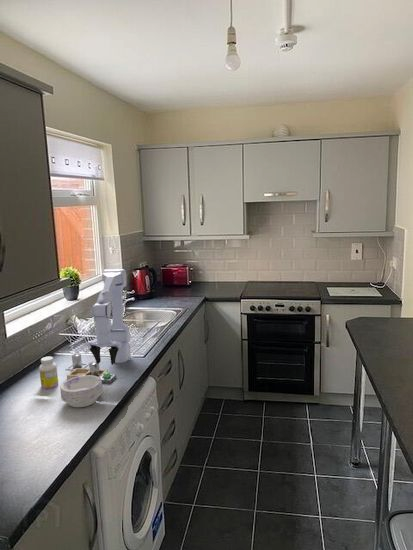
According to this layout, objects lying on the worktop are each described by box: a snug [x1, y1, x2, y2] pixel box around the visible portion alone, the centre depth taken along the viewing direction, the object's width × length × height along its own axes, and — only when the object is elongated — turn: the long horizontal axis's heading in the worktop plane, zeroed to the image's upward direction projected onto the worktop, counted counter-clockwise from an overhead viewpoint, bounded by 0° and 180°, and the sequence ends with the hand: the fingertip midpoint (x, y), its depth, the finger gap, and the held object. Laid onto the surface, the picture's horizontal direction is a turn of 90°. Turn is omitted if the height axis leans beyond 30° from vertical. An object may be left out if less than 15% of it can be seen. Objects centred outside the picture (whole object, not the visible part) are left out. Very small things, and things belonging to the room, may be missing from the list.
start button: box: [103, 371, 111, 379], centre depth 180 cm, size 3×3×3 cm
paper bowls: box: [59, 375, 103, 408], centre depth 163 cm, size 15×15×8 cm
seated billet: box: [88, 360, 101, 377], centre depth 184 cm, size 4×4×6 cm
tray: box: [65, 362, 90, 371], centre depth 196 cm, size 8×8×1 cm
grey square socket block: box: [100, 373, 117, 384], centre depth 180 cm, size 6×6×2 cm
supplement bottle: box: [39, 355, 59, 390], centre depth 176 cm, size 7×7×13 cm
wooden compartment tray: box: [66, 367, 109, 380], centre depth 185 cm, size 8×15×2 cm, turn 76°
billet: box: [71, 353, 83, 369], centre depth 195 cm, size 4×4×6 cm
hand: (105, 363), depth 179 cm, fingers open, 6 cm apart
